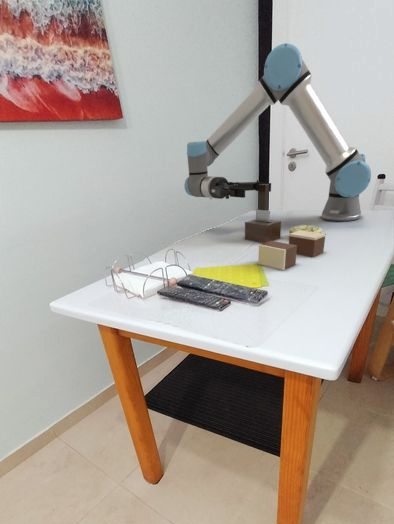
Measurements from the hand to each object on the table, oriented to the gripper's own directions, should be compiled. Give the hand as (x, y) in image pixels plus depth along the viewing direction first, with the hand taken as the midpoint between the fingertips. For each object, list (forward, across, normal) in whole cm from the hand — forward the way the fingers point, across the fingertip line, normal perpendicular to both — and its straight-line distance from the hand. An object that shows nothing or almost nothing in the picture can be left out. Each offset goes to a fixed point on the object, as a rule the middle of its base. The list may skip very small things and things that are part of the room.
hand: (257, 190), depth 116 cm
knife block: (+3, 0, -16) cm, 16 cm away
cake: (+24, +5, -16) cm, 30 cm away
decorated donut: (+14, -9, -16) cm, 24 cm away
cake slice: (+24, +17, -13) cm, 33 cm away
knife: (+2, 0, -16) cm, 16 cm away
